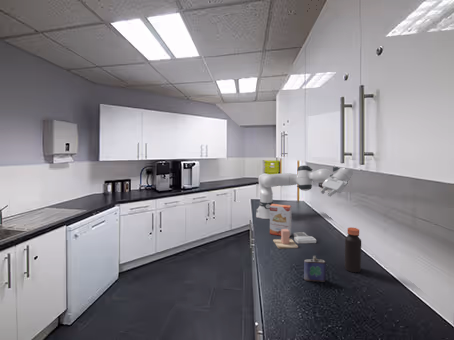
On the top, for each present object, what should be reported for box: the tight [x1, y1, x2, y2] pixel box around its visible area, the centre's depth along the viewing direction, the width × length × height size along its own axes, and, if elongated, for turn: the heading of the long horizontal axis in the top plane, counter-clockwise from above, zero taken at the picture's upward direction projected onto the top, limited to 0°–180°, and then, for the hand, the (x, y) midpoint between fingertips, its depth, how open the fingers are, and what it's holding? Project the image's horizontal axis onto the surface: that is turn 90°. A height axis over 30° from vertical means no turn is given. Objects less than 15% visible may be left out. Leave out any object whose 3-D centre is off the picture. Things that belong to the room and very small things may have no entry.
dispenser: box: [293, 231, 317, 245], centre depth 144 cm, size 14×12×2 cm
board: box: [272, 238, 299, 250], centre depth 137 cm, size 12×12×1 cm
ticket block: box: [280, 229, 290, 244], centre depth 137 cm, size 4×4×8 cm
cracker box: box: [269, 203, 292, 238], centre depth 153 cm, size 14×6×21 cm, turn 62°
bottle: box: [344, 227, 362, 274], centre depth 105 cm, size 7×7×20 cm
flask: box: [303, 255, 327, 282], centre depth 98 cm, size 9×3×11 cm, turn 83°
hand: (325, 194), depth 144 cm, fingers open, 8 cm apart
